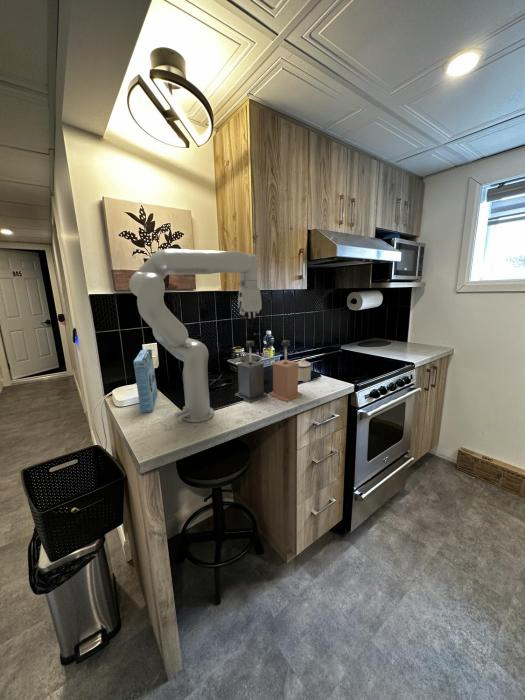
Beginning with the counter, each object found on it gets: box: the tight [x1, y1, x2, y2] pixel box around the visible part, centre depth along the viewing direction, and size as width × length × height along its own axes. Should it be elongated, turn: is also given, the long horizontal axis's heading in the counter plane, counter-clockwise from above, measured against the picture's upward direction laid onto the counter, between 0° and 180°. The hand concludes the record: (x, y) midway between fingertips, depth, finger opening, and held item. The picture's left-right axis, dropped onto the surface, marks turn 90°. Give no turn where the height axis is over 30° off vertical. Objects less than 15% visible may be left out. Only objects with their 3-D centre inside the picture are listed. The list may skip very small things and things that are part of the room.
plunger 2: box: [281, 339, 291, 364], centre depth 125 cm, size 7×7×17 cm
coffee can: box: [240, 354, 261, 363], centre depth 144 cm, size 10×10×14 cm
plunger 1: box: [245, 340, 255, 365], centre depth 125 cm, size 7×7×17 cm
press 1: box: [234, 360, 269, 404], centre depth 128 cm, size 11×12×16 cm
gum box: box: [133, 348, 158, 414], centre depth 121 cm, size 19×5×23 cm, turn 15°
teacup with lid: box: [296, 358, 312, 383], centre depth 150 cm, size 12×9×12 cm
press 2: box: [268, 359, 303, 403], centre depth 128 cm, size 11×12×16 cm
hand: (250, 326), depth 122 cm, fingers closed
